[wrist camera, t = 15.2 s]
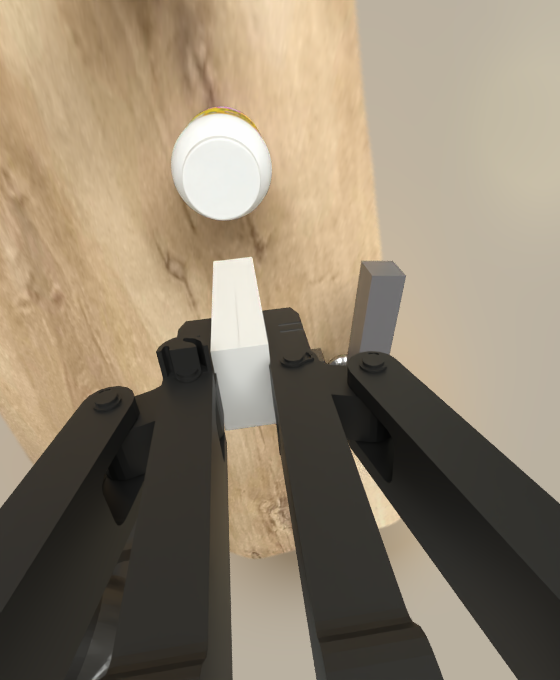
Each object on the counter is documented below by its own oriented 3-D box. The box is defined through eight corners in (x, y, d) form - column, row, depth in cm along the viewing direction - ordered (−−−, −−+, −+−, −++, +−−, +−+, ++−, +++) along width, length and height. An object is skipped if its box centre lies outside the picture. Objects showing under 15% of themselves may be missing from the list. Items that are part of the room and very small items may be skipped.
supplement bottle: (278, 151, 37) (301, 185, 26) (224, 206, 39) (224, 258, 28) (221, 84, 34) (220, 90, 23) (165, 147, 36) (140, 179, 25)
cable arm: (354, 260, 38) (365, 276, 34) (398, 260, 38) (413, 276, 35) (332, 411, 46) (340, 435, 43) (369, 410, 47) (379, 434, 44)
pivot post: (326, 382, 51) (335, 409, 47) (326, 356, 49) (336, 382, 45) (357, 378, 51) (368, 405, 47) (358, 353, 49) (370, 378, 45)
